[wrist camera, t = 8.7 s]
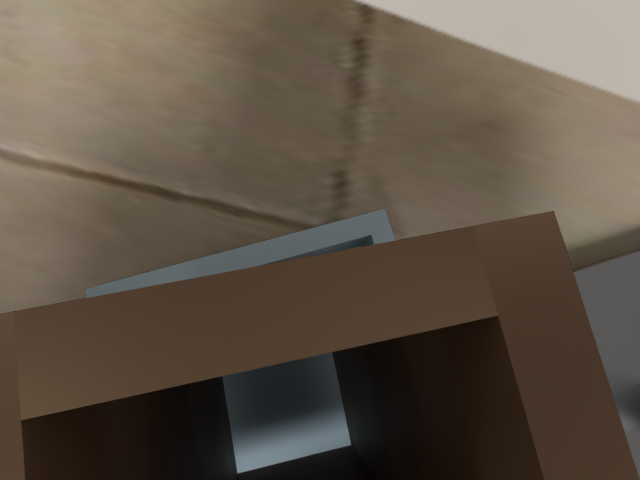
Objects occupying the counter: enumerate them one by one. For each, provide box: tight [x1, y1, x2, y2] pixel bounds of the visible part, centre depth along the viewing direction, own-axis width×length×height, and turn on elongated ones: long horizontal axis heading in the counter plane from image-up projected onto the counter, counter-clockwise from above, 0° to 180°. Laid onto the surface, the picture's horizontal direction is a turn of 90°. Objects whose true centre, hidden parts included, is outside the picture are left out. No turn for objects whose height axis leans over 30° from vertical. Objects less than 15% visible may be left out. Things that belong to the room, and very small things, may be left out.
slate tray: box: [84, 209, 395, 473], centre depth 15 cm, size 11×11×2 cm
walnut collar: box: [0, 211, 640, 480], centre depth 9 cm, size 5×5×12 cm
